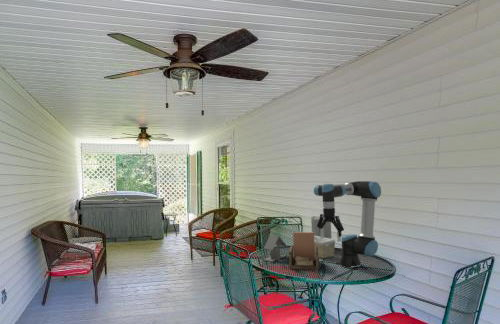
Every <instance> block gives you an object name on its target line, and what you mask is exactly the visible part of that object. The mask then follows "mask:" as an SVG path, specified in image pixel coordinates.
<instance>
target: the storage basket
mask: <svg viewBox="0 0 500 324" xmlns="http://www.w3.org/2000/svg"><path fill="white" fill-rule="evenodd" d="M314 245H315V257H316V246H318V258H319V259H320V258H321V259H326V258H330V257H334V256H335V247H336V239H334V238H332V239H330V238H322V239H321V237H320V236H314Z"/></svg>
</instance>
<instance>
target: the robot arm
mask: <svg viewBox="0 0 500 324" xmlns="http://www.w3.org/2000/svg"><path fill="white" fill-rule="evenodd" d="M313 194H314V195H315V196H319V197H322V207H323V208H322V213H320V214H319V217H320V219H319V221H318V224H317V227H318V228H319V229H320V234H321V239H322V238H324V228H323V226H324V225H325V224H326V222H331V224H332V225H333V226H334V228H335V229H336V230H337V231H336V238H337V240H336V241H337V243H339V242H341V252H342V255H341V259H340V263H339V265H340V266H341V265H342V266H345V267H344V268H346V267H351V266H357V265H360V264H361V259H360V257H359V255H363V256H367V257H373V256H374V255H375V254H377V251H378V249H379V244H378V241H377V240H376V237H375V236H374V227H375V226H374V225H375V223H374V222H375V207H376V202H377V201H378V198H380V197H381V196H382V188H381V185H380V184H379V182H377V181H372V180H371V181H367V180H366V181H364V180H363V181H362V180H361V181H359V180H358V181H351V182H346V183H343V184H341V183H340V184H333V183H324V184H316V185H314V187H313ZM345 195H346V196H353V197H354V196H355V197H360V199H361V201H362V208H361V222H360V233H359V234H358V235H357V234H356V233H355V234H353V233H352V234H351V233H350V234H344V235H342V232H343V231H344V230H345V228H344V226H343V224H342V222H341V220H340V216H339V215H335V213H336V208H335V198H341V197H343V196H345ZM323 218H325V219H324V220H323ZM322 221H323V222H322ZM361 265H362V264H361ZM342 266H341V267H342Z"/></svg>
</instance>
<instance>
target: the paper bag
mask: <svg viewBox="0 0 500 324" xmlns="http://www.w3.org/2000/svg"><path fill="white" fill-rule="evenodd" d="M310 219H311V220H310V221H311V224H310V225H311V232H314V236H320V237H321V234H320V229H319V228H318V227H317V224H318V221H319V219H320V216H318V215H317V216H314V215H313V216H311V217H310ZM324 219H325V218H323V220H324ZM322 222H323V221H322ZM323 228H324V238H330V239H333V238H332V222H326V224H325V225H324V226H323Z"/></svg>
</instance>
